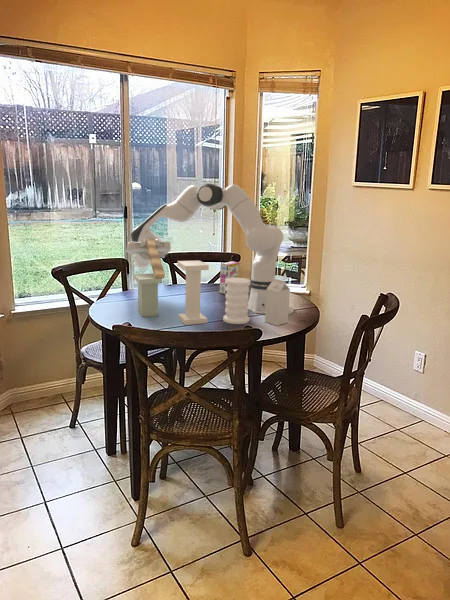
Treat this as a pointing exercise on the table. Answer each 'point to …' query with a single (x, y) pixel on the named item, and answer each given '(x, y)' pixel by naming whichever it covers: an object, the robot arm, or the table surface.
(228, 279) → the decorative container
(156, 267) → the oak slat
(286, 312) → the milk carton
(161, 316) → the table surface
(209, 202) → the robot arm
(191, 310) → the shelf stand
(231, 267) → the candy bar box
